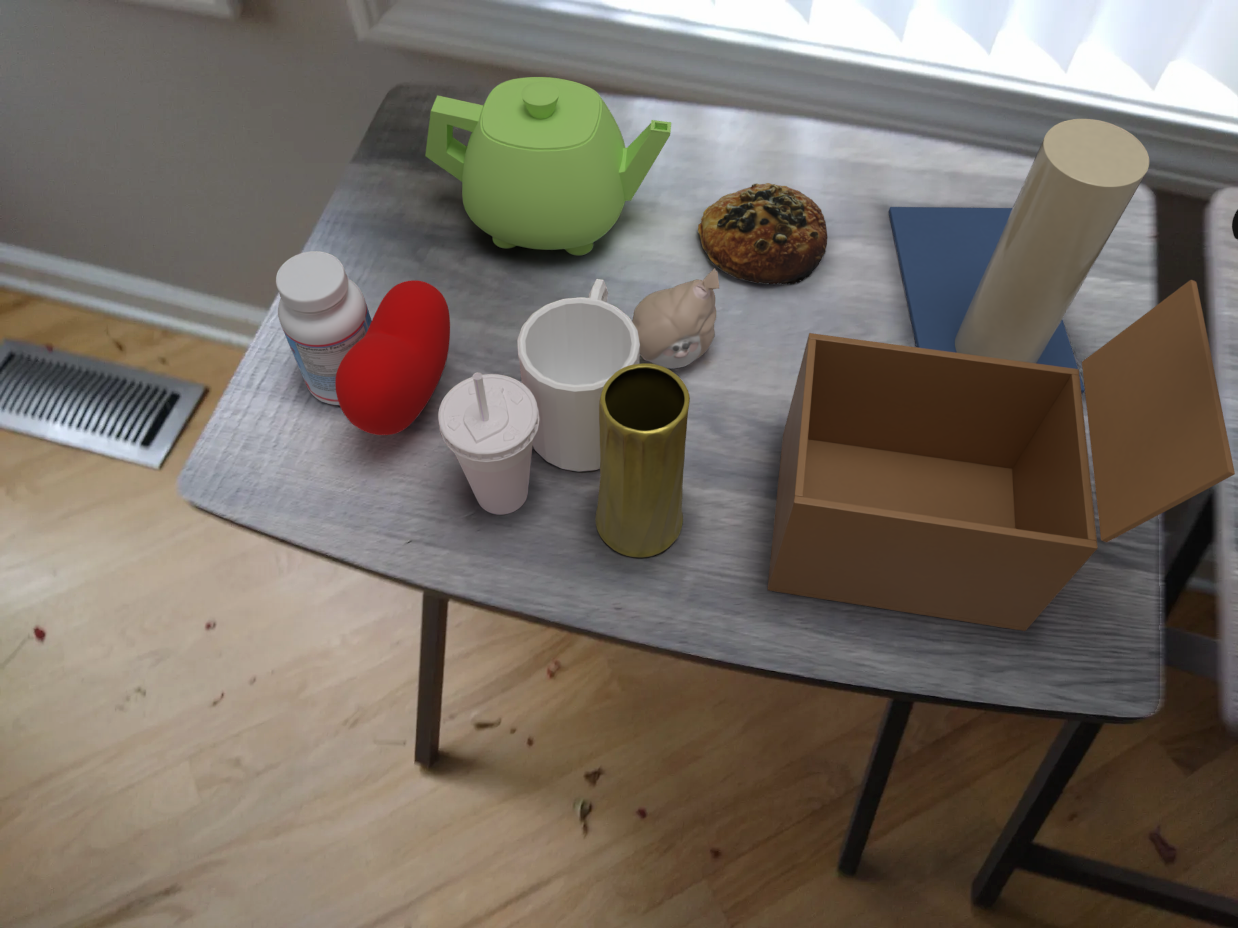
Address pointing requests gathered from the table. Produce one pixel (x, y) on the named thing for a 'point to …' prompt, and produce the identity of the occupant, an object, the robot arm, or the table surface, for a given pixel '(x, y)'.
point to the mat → (953, 272)
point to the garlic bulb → (677, 322)
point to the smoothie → (492, 437)
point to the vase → (641, 459)
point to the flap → (1155, 415)
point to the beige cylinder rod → (1052, 238)
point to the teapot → (542, 162)
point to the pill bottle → (320, 317)
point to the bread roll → (765, 234)
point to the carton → (932, 482)
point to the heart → (396, 360)
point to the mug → (574, 372)
